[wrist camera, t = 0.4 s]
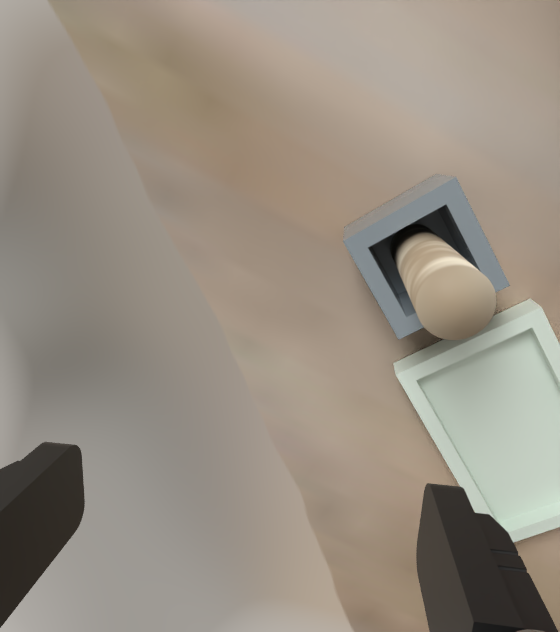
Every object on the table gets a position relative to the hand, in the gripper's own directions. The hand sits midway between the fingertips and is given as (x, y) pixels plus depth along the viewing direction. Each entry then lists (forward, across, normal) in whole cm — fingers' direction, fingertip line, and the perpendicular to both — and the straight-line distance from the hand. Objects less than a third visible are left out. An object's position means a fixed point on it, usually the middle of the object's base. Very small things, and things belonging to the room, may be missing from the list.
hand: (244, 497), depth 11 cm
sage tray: (+24, -15, +9) cm, 30 cm away
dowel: (+22, -7, -4) cm, 24 cm away
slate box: (+23, -7, -4) cm, 25 cm away
